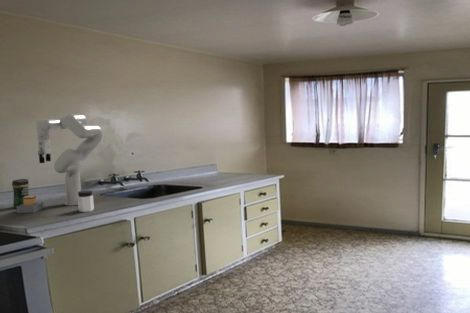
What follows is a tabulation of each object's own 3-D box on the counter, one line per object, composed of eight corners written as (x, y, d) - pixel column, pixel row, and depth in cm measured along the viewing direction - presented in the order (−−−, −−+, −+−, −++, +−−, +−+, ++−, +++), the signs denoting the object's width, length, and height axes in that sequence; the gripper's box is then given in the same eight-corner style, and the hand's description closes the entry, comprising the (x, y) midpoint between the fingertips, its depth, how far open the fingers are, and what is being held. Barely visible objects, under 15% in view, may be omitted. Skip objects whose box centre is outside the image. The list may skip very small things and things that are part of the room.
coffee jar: (19, 209, 254) (17, 180, 252) (11, 208, 257) (9, 180, 255) (33, 205, 262) (30, 178, 260) (24, 204, 266) (22, 177, 264)
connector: (36, 207, 251) (35, 195, 250) (32, 209, 247) (31, 197, 246) (28, 208, 251) (26, 195, 250) (24, 209, 247) (23, 197, 246)
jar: (83, 208, 250) (82, 190, 249) (95, 208, 250) (94, 190, 248) (76, 212, 241) (75, 193, 240) (89, 212, 241) (88, 192, 239)
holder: (43, 208, 254) (42, 202, 254) (34, 212, 243) (34, 206, 243) (26, 208, 254) (25, 202, 254) (16, 212, 243) (16, 206, 243)
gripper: (43, 138, 261) (45, 163, 263) (54, 136, 278) (56, 160, 280) (31, 138, 261) (33, 163, 263) (43, 136, 278) (45, 160, 280)
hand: (45, 162), depth 272 cm, fingers open, 9 cm apart
